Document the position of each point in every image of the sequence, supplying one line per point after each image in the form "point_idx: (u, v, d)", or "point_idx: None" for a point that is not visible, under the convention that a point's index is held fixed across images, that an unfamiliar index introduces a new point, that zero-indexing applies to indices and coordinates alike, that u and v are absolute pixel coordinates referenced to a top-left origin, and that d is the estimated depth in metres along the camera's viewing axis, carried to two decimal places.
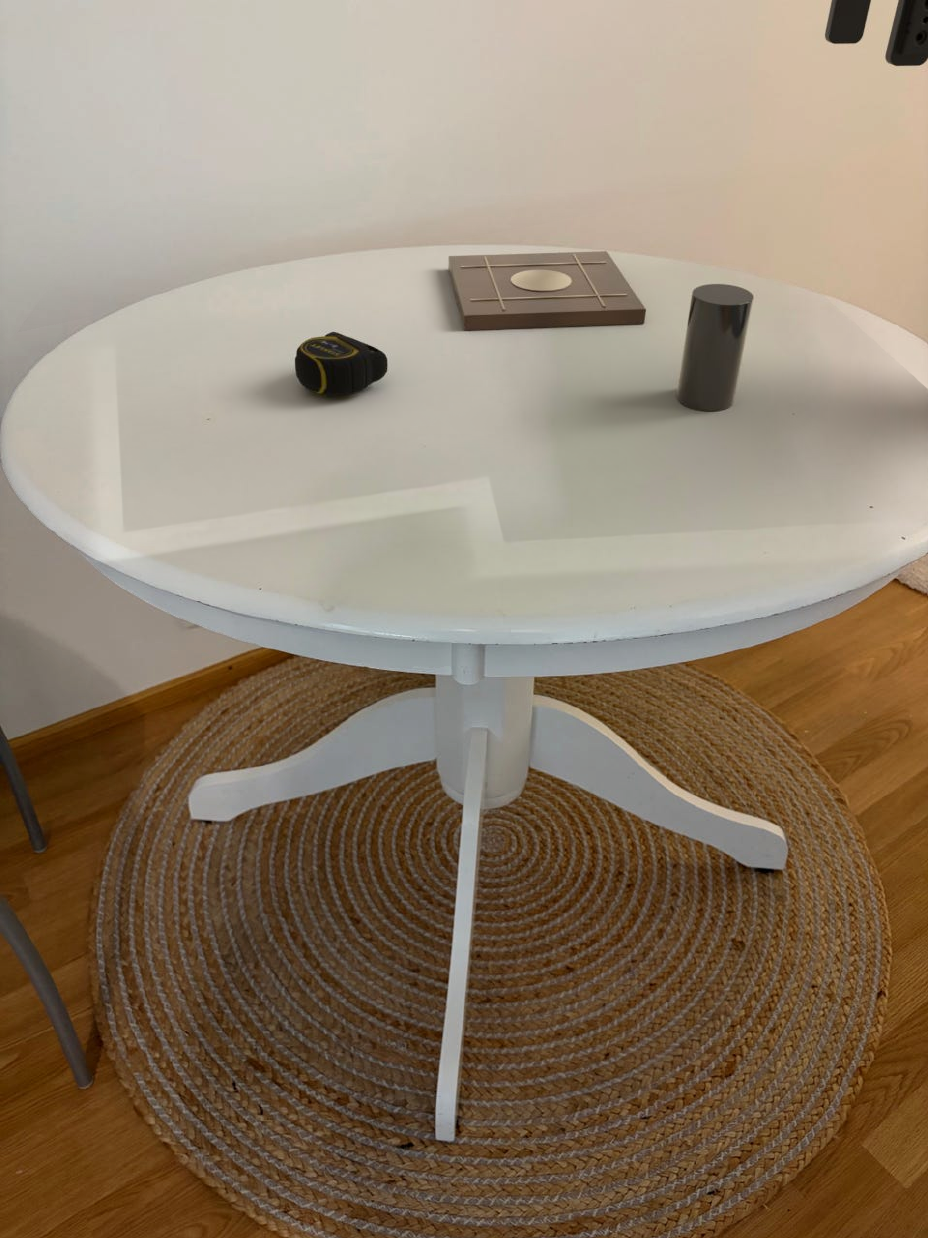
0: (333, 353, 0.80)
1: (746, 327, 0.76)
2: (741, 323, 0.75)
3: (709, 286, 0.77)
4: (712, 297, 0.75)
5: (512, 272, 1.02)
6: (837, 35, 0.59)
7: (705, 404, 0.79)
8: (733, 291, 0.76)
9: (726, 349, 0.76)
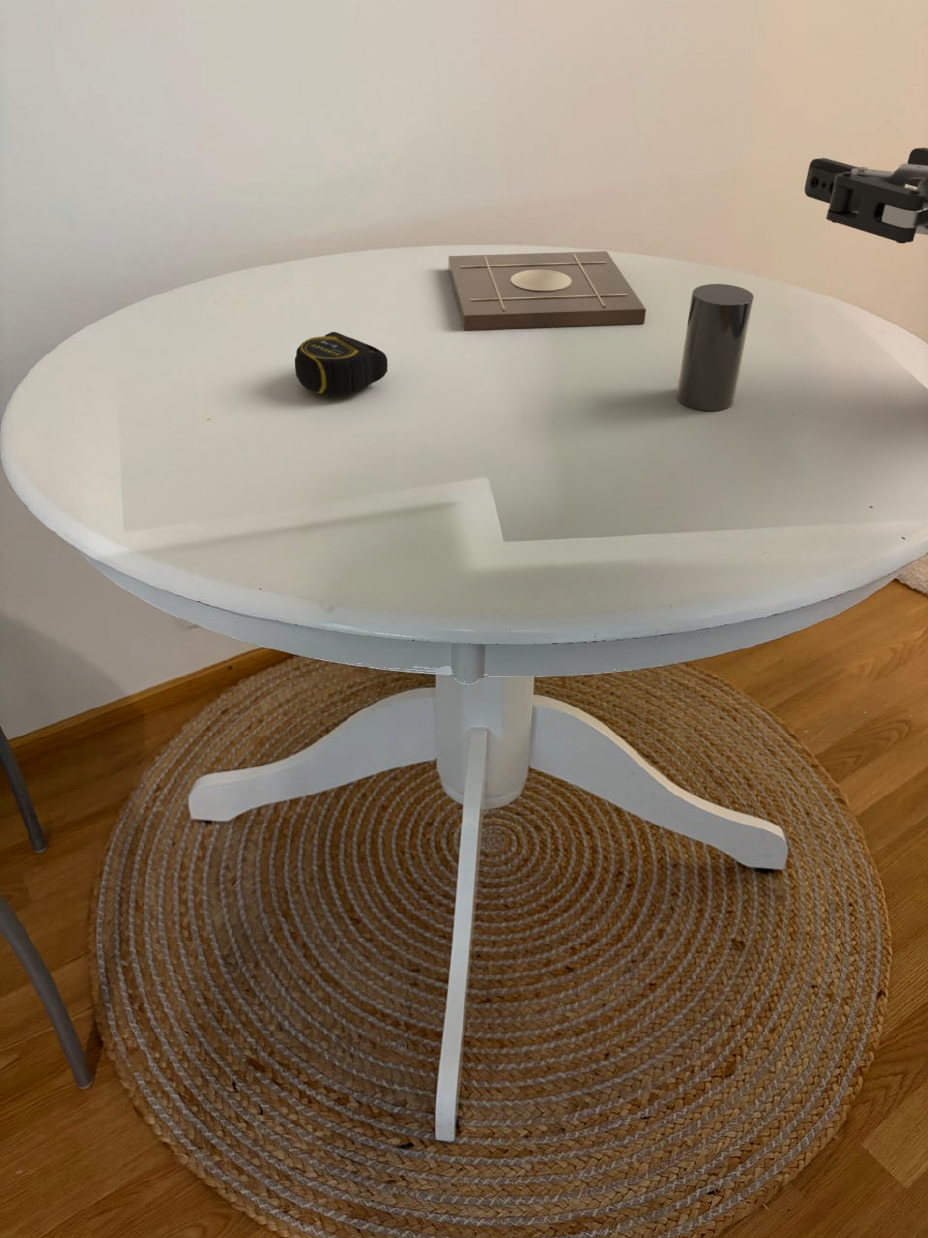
0: (333, 353, 0.80)
1: (746, 327, 0.76)
2: (741, 323, 0.75)
3: (709, 286, 0.77)
4: (712, 297, 0.75)
5: (512, 272, 1.02)
6: None
7: (705, 404, 0.79)
8: (733, 291, 0.76)
9: (726, 349, 0.76)
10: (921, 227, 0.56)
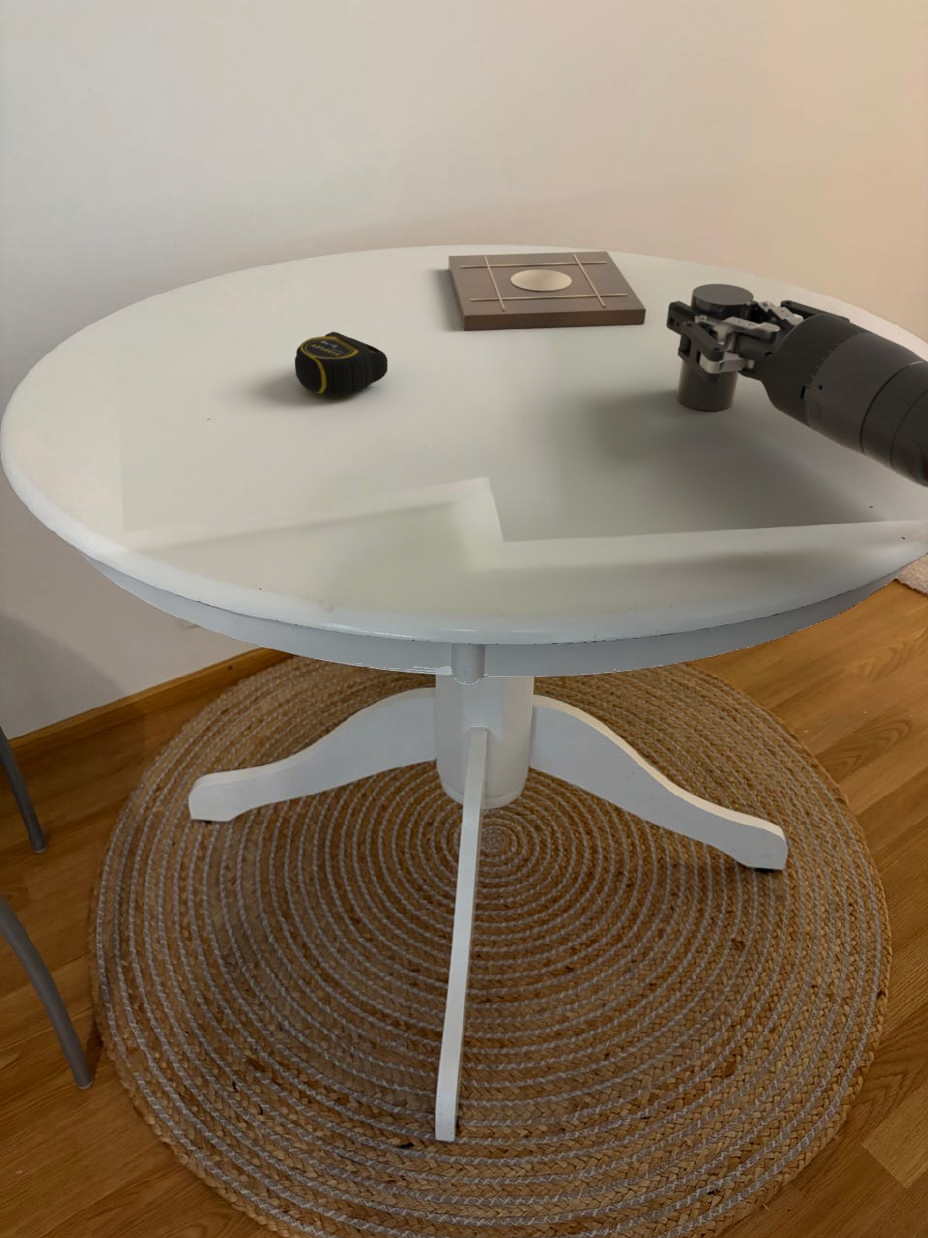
0: (333, 353, 0.80)
1: None
2: None
3: (709, 286, 0.77)
4: (712, 297, 0.75)
5: (512, 272, 1.02)
6: None
7: (705, 404, 0.79)
8: (733, 291, 0.76)
9: None
10: None
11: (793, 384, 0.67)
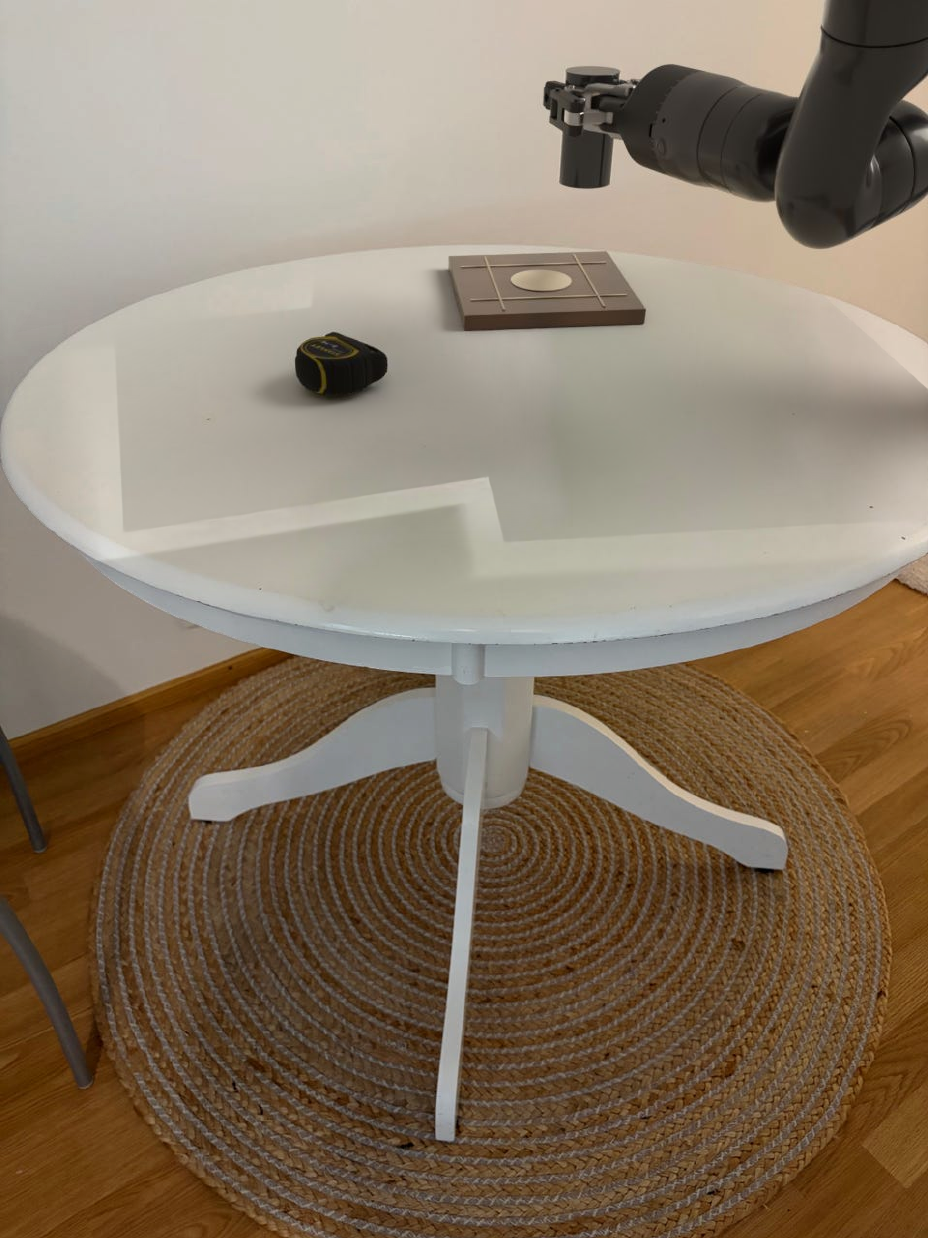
0: (333, 353, 0.80)
1: None
2: None
3: (581, 67, 0.83)
4: (582, 71, 0.81)
5: (512, 272, 1.02)
6: None
7: (582, 181, 0.85)
8: (603, 69, 0.83)
9: None
10: None
11: (643, 124, 0.73)
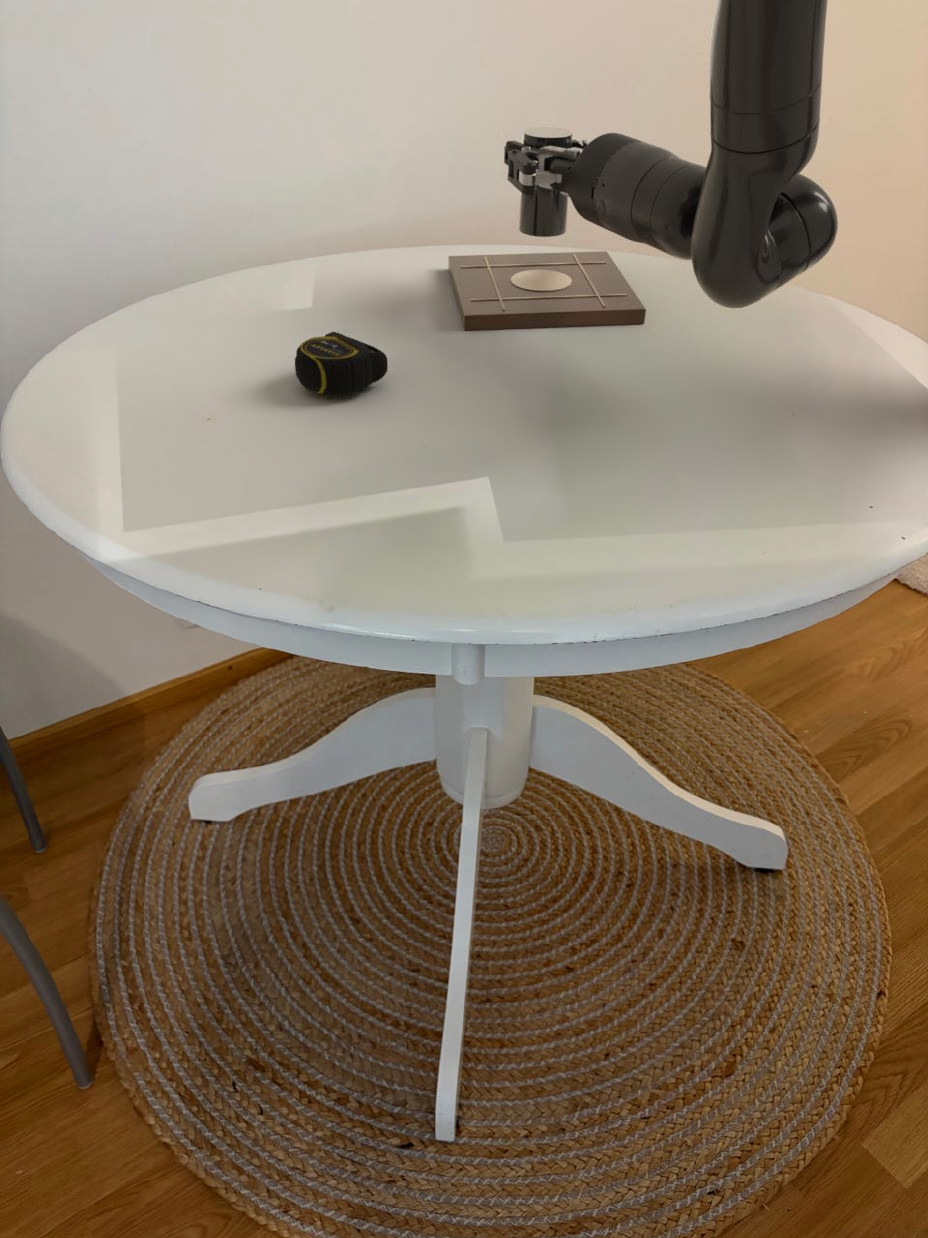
0: (333, 353, 0.80)
1: None
2: None
3: (539, 128, 0.92)
4: (538, 133, 0.91)
5: (512, 272, 1.02)
6: None
7: (539, 230, 0.95)
8: (557, 130, 0.92)
9: None
10: None
11: (586, 187, 0.82)
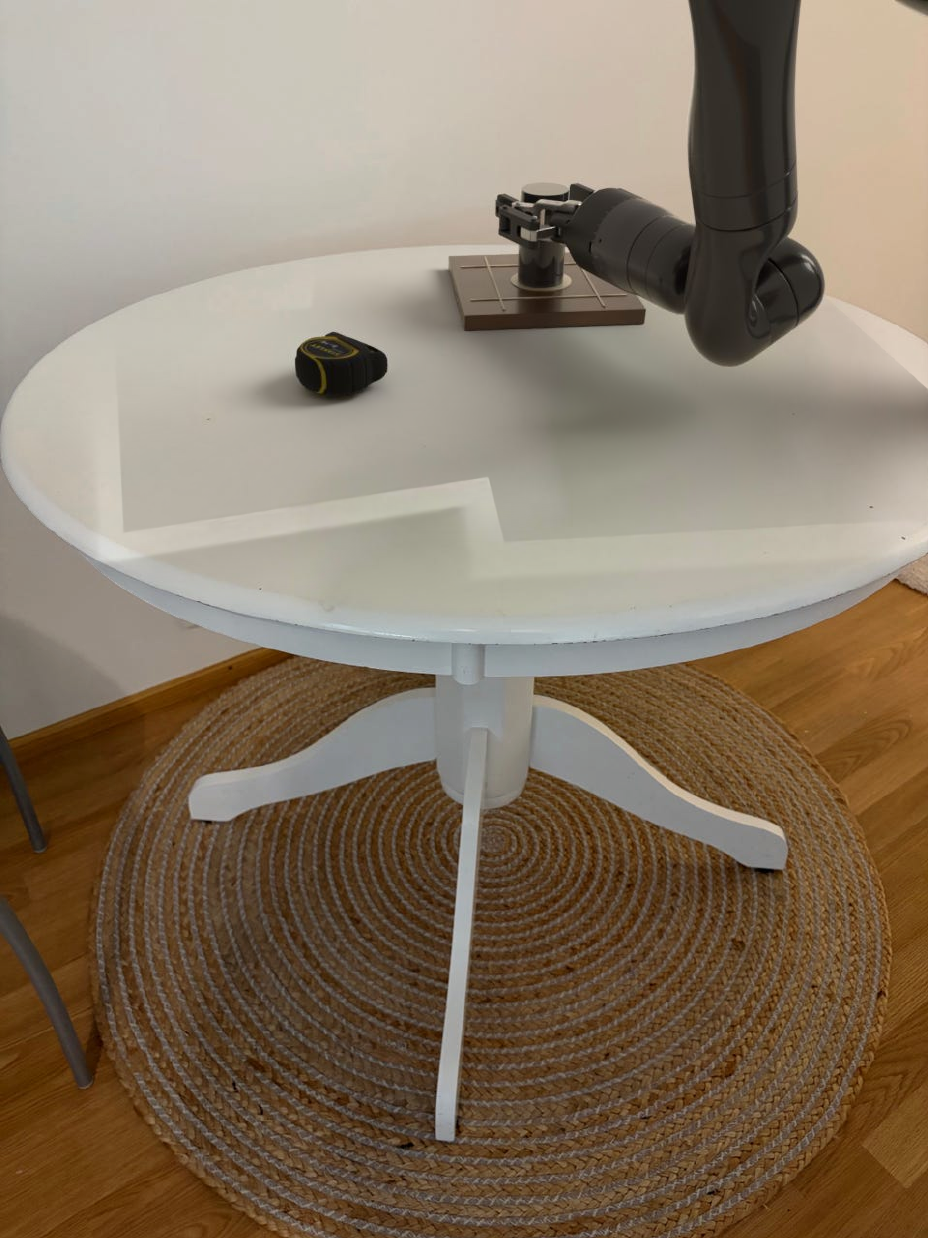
0: (333, 353, 0.80)
1: None
2: None
3: (536, 184, 0.96)
4: (535, 191, 0.94)
5: (512, 272, 1.02)
6: None
7: (537, 282, 0.98)
8: (554, 187, 0.95)
9: None
10: None
11: (584, 241, 0.85)
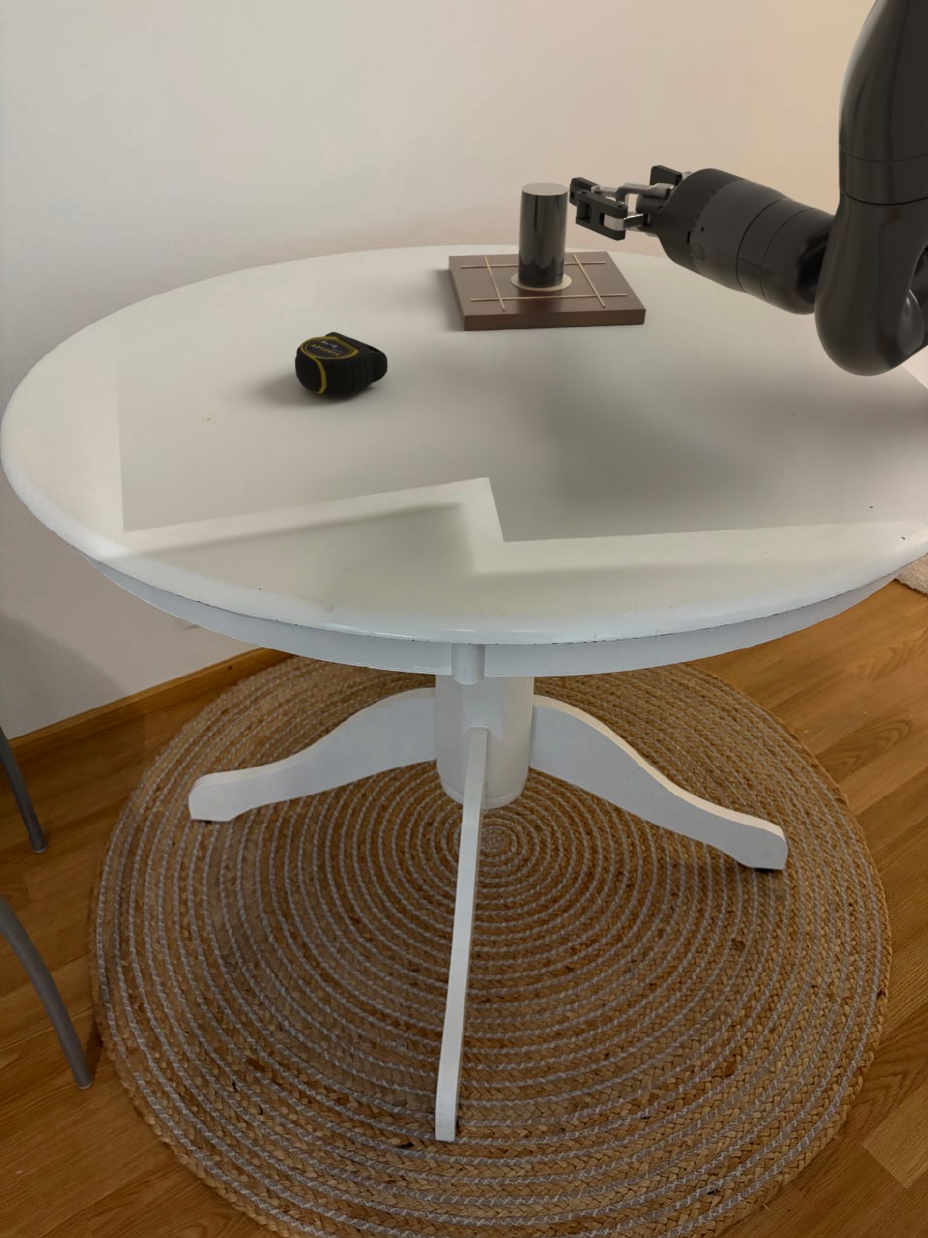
0: (333, 353, 0.80)
1: (564, 215, 0.95)
2: (558, 212, 0.94)
3: (536, 184, 0.96)
4: (535, 191, 0.94)
5: (512, 272, 1.02)
6: None
7: (537, 282, 0.98)
8: (554, 187, 0.95)
9: (548, 233, 0.95)
10: None
11: (681, 230, 0.74)
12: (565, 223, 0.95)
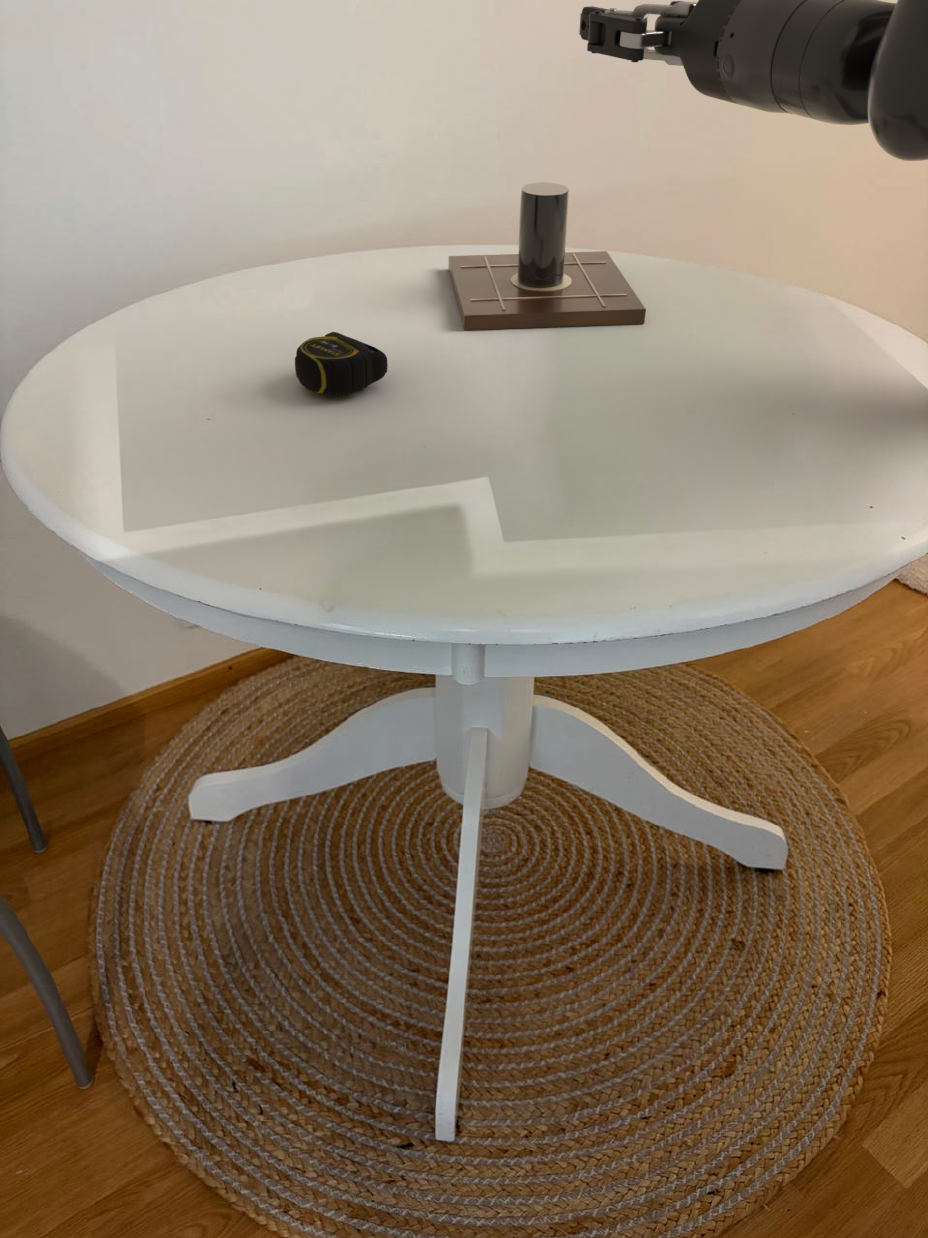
0: (333, 353, 0.80)
1: (564, 215, 0.95)
2: (558, 212, 0.94)
3: (536, 184, 0.96)
4: (535, 191, 0.94)
5: (512, 272, 1.02)
6: None
7: (537, 282, 0.98)
8: (554, 187, 0.95)
9: (548, 233, 0.95)
10: (658, 54, 0.71)
11: (707, 42, 0.66)
12: (565, 223, 0.95)
